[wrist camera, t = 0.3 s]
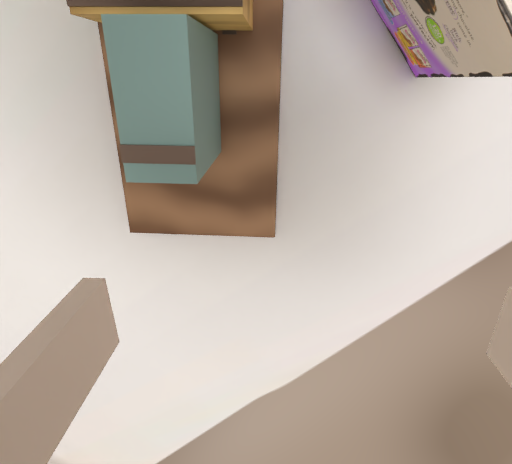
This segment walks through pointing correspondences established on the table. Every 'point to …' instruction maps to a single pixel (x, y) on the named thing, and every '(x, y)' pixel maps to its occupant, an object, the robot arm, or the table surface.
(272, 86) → the board
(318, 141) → the table surface
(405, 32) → the candy box
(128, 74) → the stub
